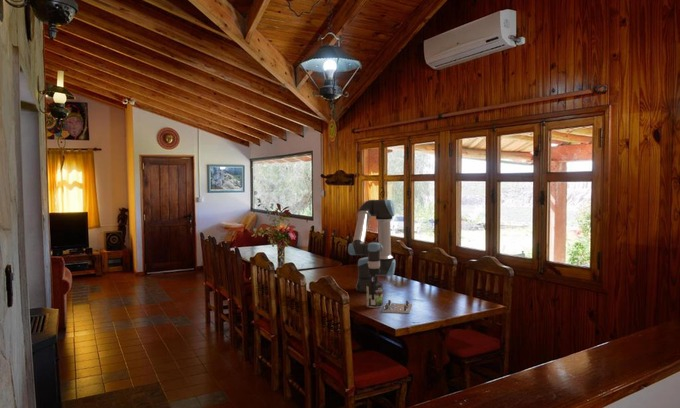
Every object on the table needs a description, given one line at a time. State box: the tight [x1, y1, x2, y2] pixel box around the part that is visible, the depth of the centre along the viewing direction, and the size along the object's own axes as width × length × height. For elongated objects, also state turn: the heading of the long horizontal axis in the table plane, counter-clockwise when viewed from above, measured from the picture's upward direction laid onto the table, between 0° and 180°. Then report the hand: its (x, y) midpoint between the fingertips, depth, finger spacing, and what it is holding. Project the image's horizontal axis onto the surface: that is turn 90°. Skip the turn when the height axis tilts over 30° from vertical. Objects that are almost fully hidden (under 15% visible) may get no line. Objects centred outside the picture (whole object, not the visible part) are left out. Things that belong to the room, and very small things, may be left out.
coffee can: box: [366, 281, 384, 309], centre depth 313 cm, size 10×10×14 cm
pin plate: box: [381, 299, 413, 314], centre depth 304 cm, size 16×16×4 cm
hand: (374, 302), depth 313 cm, fingers closed on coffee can, 10 cm apart
